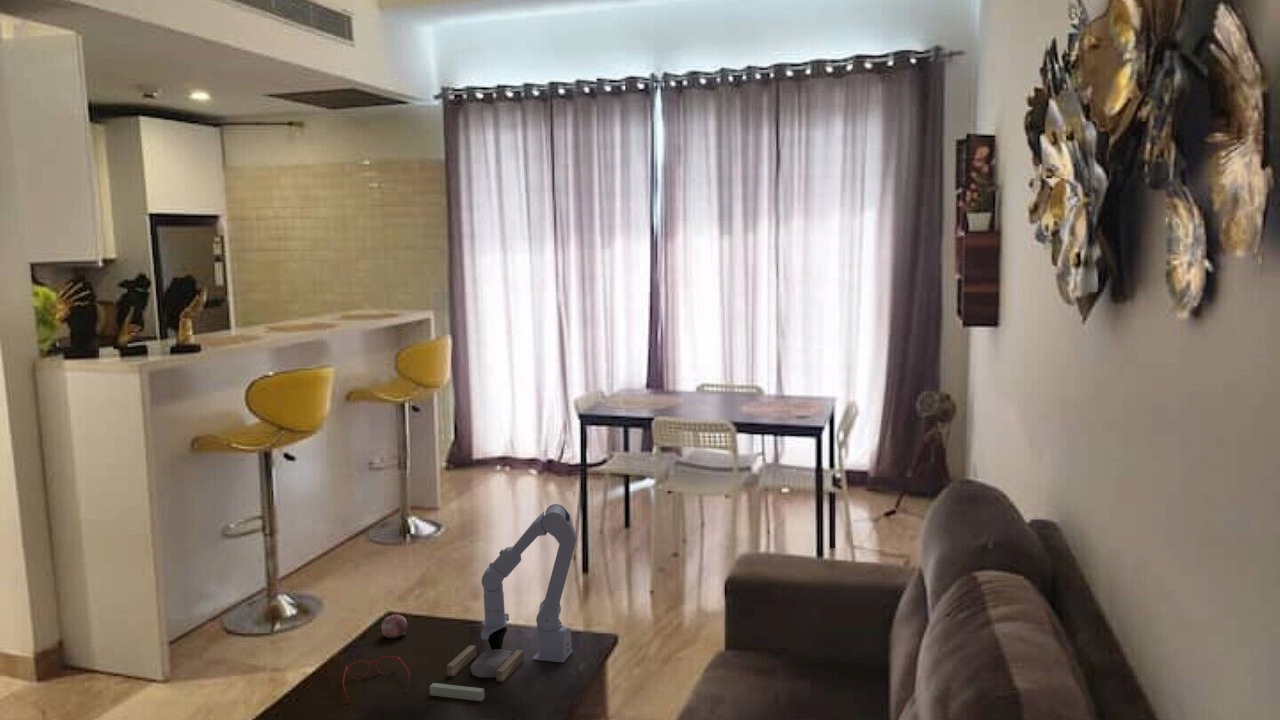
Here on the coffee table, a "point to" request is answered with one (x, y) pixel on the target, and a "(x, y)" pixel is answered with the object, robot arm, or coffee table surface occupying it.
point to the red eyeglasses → (376, 668)
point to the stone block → (489, 662)
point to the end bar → (457, 692)
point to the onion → (394, 626)
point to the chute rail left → (461, 660)
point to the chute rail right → (509, 665)
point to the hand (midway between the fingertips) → (496, 653)
